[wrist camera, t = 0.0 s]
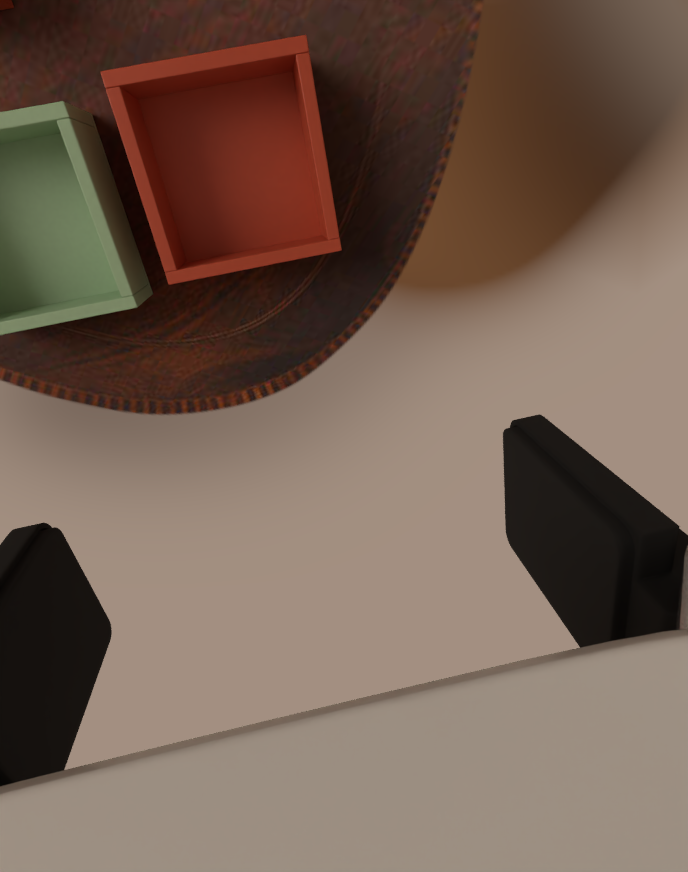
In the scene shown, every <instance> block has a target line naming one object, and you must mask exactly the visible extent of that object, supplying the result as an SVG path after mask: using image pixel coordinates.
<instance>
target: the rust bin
mask: <svg viewBox="0 0 688 872" xmlns="http://www.w3.org/2000/svg"><path fill="white" fill-rule="evenodd" d="M101 76H102V79H103V82H104V85H105V88H106V92H107V95H108V98H109V101H110V104H111V107H112V110H113V113H114V116H115V120H116V123H117V126H118V129H119V132H120V135H121V138H122V141H123V144H124V147H125V151H126V154H127V157H128V160H129V163H130V166H131V169H132V172H133V175H134V178H135V181H136V185H137V188H138V191H139V194H140V197H141V200H142V203H143V206H144V209H145V212H146V216H147V219H148V222H149V225H150V228H151V231H152V234H153V237H154V240H155V243H156V246H157V250H158V253H159V256H160V259H161V262H162V265H163V268H164V271H165V274H166V277H167V281H168V284H169V285H171V284H176V283H181V282H186V281H191V280H196V279H201V278H206V277H211V276H216V275H221V274H226V273H231V272H236V271H241V270H246V269H251V268H256V267H262V266H267V265H272V264H277V263H282V262H287V261H292V260H297V259H302V258H307V257H312V256H317V255H322V254H327V253H332V252H337V251H341V250H342V249H341V243H340V238H339V231H338V225H337V218H336V212H335V206H334V200H333V194H332V188H331V182H330V176H329V170H328V164H327V157H326V151H325V145H324V139H323V133H322V127H321V121H320V115H319V109H318V103H317V96H316V90H315V84H314V78H313V72H312V66H311V60H310V54H309V47H308V41H307V36H306V35H301V36H296V37H290V38H284V39H279V40H273V41H268V42H262V43H256V44H251V45H245V46H240V47H234V48H228V49H223V50H217V51H212V52H206V53H201V54H195V55H189V56H184V57H178V58H173V59H167V60H161V61H156V62H150V63H145V64H139V65H134V66H128V67H122V68H117V69H111V70H106V71H101Z"/></svg>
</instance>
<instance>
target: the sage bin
mask: <svg viewBox="0 0 688 872" xmlns="http://www.w3.org/2000/svg"><path fill="white" fill-rule="evenodd" d="M152 294H153V292H152V289H151V286H150V283H149V280H148V277H147V275H146V272H145V269H144V266H143V263H142V260H141V257H140V254H139V251H138V248H137V245H136V242H135V239H134V236H133V233H132V230H131V227H130V225H129V222H128V219H127V216H126V213H125V210H124V207H123V204H122V201H121V198H120V195H119V192H118V189H117V186H116V183H115V180H114V177H113V174H112V172H111V169H110V166H109V163H108V160H107V157H106V154H105V151H104V148H103V145H102V142H101V139H100V136H99V133H98V130H97V127H96V124H95V122H94V119H93V116H92V114H91V113H88V112H86V111H84V110H82V109H79V108H77V107H75V106H73V105H71V104H68V103H66V102H64V101H60V102H55V103H49V104H44V105H38V106H33V107H27V108H22V109H16V110H11V111H5V112H0V335H3V334H8V333H13V332H18V331H23V330H28V329H33V328H38V327H43V326H48V325H53V324H58V323H63V322H68V321H73V320H78V319H83V318H88V317H93V316H98V315H103V314H108V313H113V312H118V311H123V310H128V309H132V308H137V307H138V306H139V305H141V304H142V303H143V302H144V301H145V300H147V299H148V298H149V297H150V296H151V295H152Z"/></svg>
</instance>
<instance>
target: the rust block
mask: <svg viewBox="0 0 688 872" xmlns="http://www.w3.org/2000/svg"><path fill="white" fill-rule="evenodd" d="M11 8H14V5H13V2H12V0H0V10H5V9H11Z"/></svg>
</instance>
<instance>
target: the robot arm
mask: <svg viewBox="0 0 688 872" xmlns="http://www.w3.org/2000/svg"><path fill="white" fill-rule="evenodd" d="M503 448H504V449H503V450H504V482H505V483H504V484H505V519H506V534H507V538H508V541H509V544H510V546H511V547H512V549H513V550H514V552H515V553H516V555H517V556H518V558H519V559H520V561H521V562H522V563H523V565H524V566H525V568H526V569H527V571H528V572H529V574H530V575H531V577H532V578H533V579H534V581H535V582H536V584H537V585H538V587H539V588H540V590H541V591H542V593H543V594H544V595H545V597H546V598H547V600H548V601H549V603H550V604H551V606H552V607H553V609H554V610H555V611H556V613H557V614H558V616H559V617H560V619H561V620H562V622H563V623H564V625H565V626H566V627H567V629H568V630H569V632H570V633H571V635H572V636H573V638H574V639H575V641H576V642H577V643H578V645H579V646H580V648H577V649H572V650H568V651H563V652H559V653H554V654H549V655H545V656H541V657H536V658H531V659H526V660H522V661H517V662H513V663H509V664H505V665H500V666H496V667H492V668H488V669H483V670H479V671H475V672H471V673H466V674H462V675H458V676H454V677H449V678H445V679H441V680H437V681H432V682H428V683H424V684H419V685H415V686H411V687H406V688H402V689H398V690H394V691H389V692H385V693H381V694H377V695H372V696H368V697H364V698H360V699H356V700H351V701H347V702H343V703H339V704H335V705H331V706H326V707H322V708H318V709H314V710H310V711H306V712H301V713H297V714H294V715H289V716H285V717H281V718H276V719H272V720H269V721H264V722H260V723H256V724H252V725H247V726H243V727H239V728H235V729H231V730H227V731H223V732H218V733H214V734H210V735H206V736H202V737H198V738H194V739H189V740H186V741H181V742H177V743H173V744H169V745H165V746H161V747H157V748H153V749H149V750H145V751H141V752H137V753H133V754H129V755H125V756H120V757H116V758H112V759H108V760H105V761H100V762H96V763H92V764H88V765H84V766H80V767H76V768H72V769H68V770H64V768H65V765H66V763H67V760H68V757H69V755H70V752H71V749H72V746H73V743H74V740H75V738H76V735H77V732H78V729H79V726H80V724H81V721H82V718H83V715H84V712H85V710H86V707H87V704H88V701H89V698H90V696H91V693H92V690H93V687H94V684H95V682H96V678H97V676H98V673H99V670H100V668H101V665H102V662H103V659H104V656H105V654H106V651H107V648H108V645H109V642H110V639H111V624H110V621H109V619H108V617H107V615H106V613H105V612H104V610H103V608H102V606H101V604H100V602H99V600H98V599H97V597H96V595H95V593H94V591H93V589H92V587H91V585H90V584H89V582H88V580H87V578H86V576H85V574H84V572H83V570H82V569H81V567H80V565H79V563H78V561H77V559H76V558H75V556H74V554H73V552H72V550H71V548H70V546H69V544H68V543H67V541H66V539H65V537H64V535H63V533H62V532H61V531H60V530H59V529H58V528H52V527H51V526H50V525H48V524H47V523H41V524H36V525H31V526H27V527H22V528H17V529H14V530H12V531H11V532H10V533H9V534H8V536H7V537H6V538H5V539H4V541H3V542H2V543H1V545H0V872H688V535H687V534H685V533H684V532H683V531H682V530H680V529H679V526H678V525H677V524H676V523H675V522H673V521H672V520H671V519H670V518H668V517H667V516H666V515H665V514H663V513H662V512H661V511H660V510H659V509H657V508H656V507H655V506H654V505H652V504H651V503H650V502H649V501H647V500H646V499H645V498H644V497H642V496H641V495H640V494H639V493H637V492H636V491H635V490H634V489H633V488H631V487H630V486H629V485H628V484H626V483H625V482H624V481H623V480H621V479H620V478H619V477H618V476H616V475H615V474H614V473H613V472H612V471H610V470H609V469H608V468H607V467H605V466H604V465H603V464H602V463H600V462H599V461H598V460H597V459H595V458H594V457H593V456H592V455H590V454H589V453H588V452H587V451H586V450H584V449H583V448H582V447H580V446H579V445H578V444H577V443H576V442H574V441H573V440H572V439H571V438H569V437H568V436H567V435H566V434H564V433H563V432H562V431H561V430H560V429H558V428H557V427H556V426H555V425H553V424H552V423H551V422H550V421H548V420H547V419H546V418H545V417H543V416H542V415H535V416H531V417H526V418H521V419H517V420H513V421H512V422H511V425H510V428H508V429H505V430H504V432H503Z"/></svg>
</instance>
